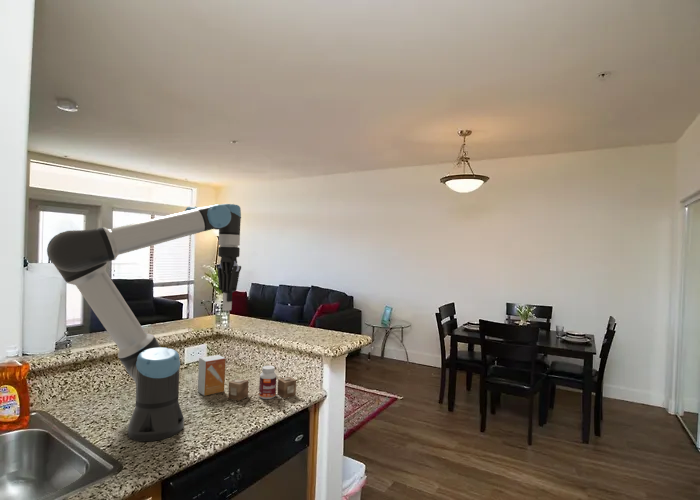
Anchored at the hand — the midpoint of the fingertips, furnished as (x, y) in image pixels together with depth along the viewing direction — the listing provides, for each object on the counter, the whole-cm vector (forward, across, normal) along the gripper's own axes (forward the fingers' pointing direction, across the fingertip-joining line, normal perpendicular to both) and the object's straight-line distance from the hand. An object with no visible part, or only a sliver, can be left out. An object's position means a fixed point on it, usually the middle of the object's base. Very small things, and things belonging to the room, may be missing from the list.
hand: (227, 310), depth 145 cm
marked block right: (+33, -14, -18) cm, 40 cm away
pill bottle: (+33, -10, -12) cm, 36 cm away
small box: (+33, +9, 0) cm, 34 cm away
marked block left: (+33, -3, -4) cm, 33 cm away
